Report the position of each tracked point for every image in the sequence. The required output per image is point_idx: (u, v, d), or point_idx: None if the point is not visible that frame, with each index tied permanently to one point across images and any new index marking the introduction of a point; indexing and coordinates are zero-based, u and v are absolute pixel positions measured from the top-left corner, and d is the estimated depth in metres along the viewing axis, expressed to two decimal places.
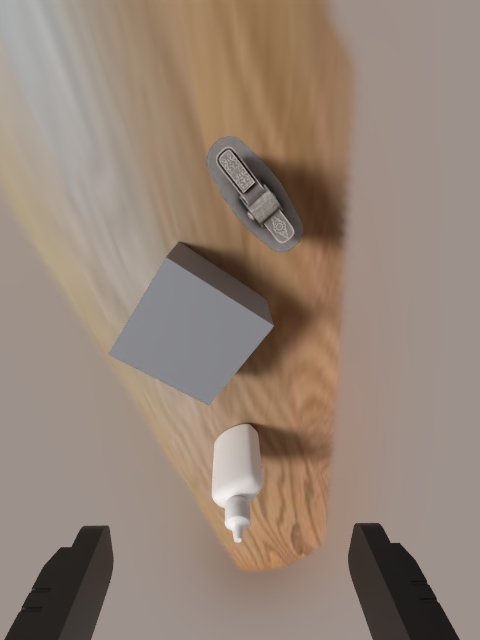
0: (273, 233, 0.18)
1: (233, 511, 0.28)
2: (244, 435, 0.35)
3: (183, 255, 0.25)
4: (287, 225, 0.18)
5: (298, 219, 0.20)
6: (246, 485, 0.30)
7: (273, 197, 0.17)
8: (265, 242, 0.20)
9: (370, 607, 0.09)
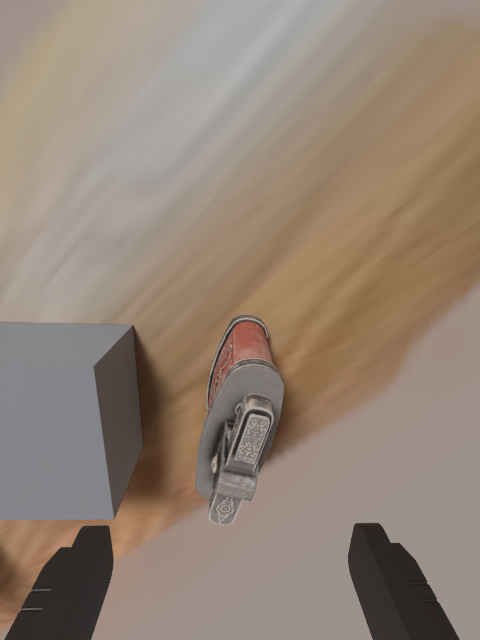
0: (212, 507, 0.13)
1: None
2: None
3: (118, 357, 0.18)
4: (232, 514, 0.13)
5: None
6: None
7: (252, 492, 0.12)
8: (197, 473, 0.15)
9: (370, 607, 0.09)
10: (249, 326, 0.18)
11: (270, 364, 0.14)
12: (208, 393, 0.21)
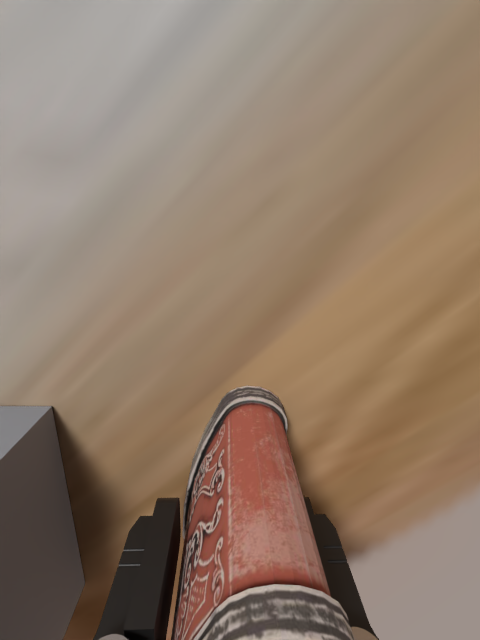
0: None
1: None
2: None
3: (2, 491, 0.09)
4: None
5: None
6: None
7: None
8: None
9: None
10: (257, 421, 0.10)
11: (324, 606, 0.05)
12: (185, 515, 0.12)
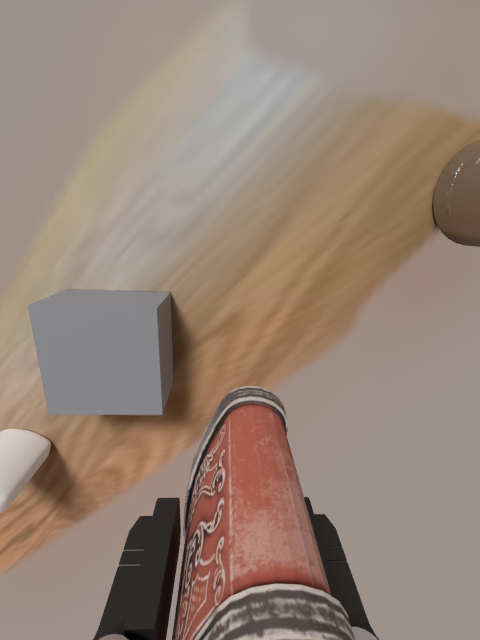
0: None
1: None
2: (37, 450, 0.32)
3: (164, 309, 0.27)
4: None
5: None
6: None
7: None
8: None
9: None
10: (257, 421, 0.10)
11: (325, 605, 0.05)
12: (186, 515, 0.12)
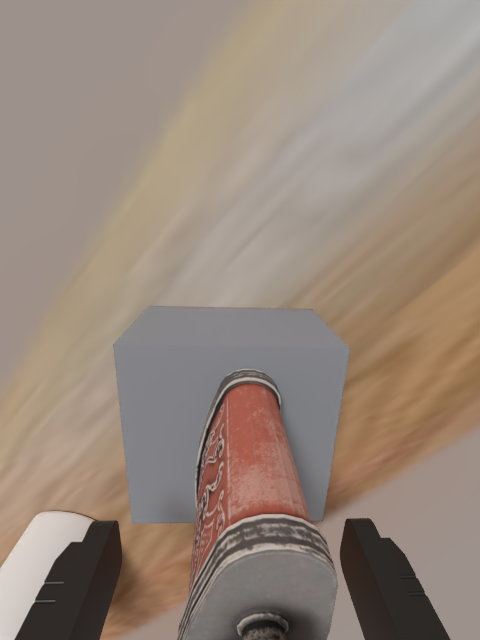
0: None
1: None
2: None
3: None
4: None
5: None
6: None
7: None
8: None
9: (360, 601, 0.09)
10: (251, 397, 0.11)
11: (303, 528, 0.06)
12: (197, 489, 0.14)
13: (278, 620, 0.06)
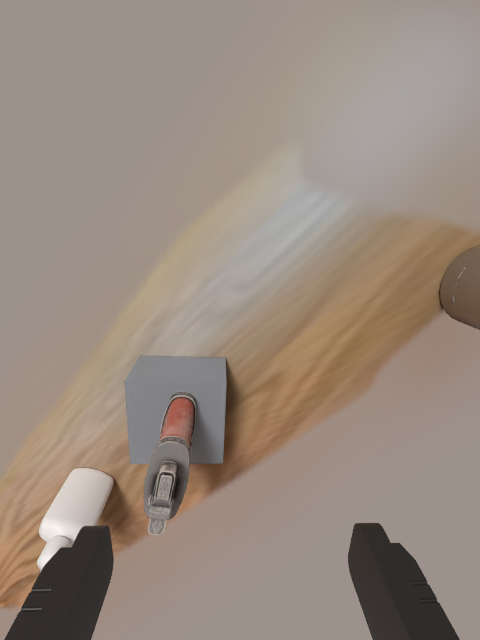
0: (149, 525, 0.23)
1: None
2: (105, 488, 0.38)
3: None
4: (161, 528, 0.23)
5: (176, 510, 0.25)
6: None
7: (168, 516, 0.22)
8: (145, 504, 0.25)
9: (370, 607, 0.09)
10: (180, 403, 0.28)
11: (180, 439, 0.24)
12: None
13: None
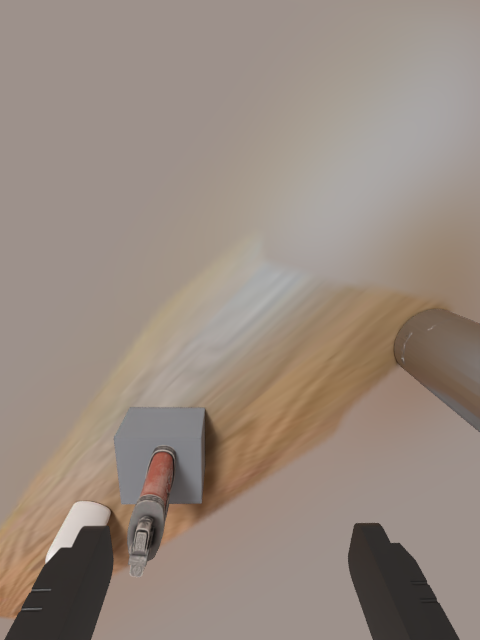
0: (130, 569, 0.28)
1: None
2: (103, 519, 0.43)
3: None
4: (140, 572, 0.28)
5: (154, 553, 0.30)
6: None
7: (145, 563, 0.27)
8: (129, 549, 0.30)
9: (370, 607, 0.09)
10: (160, 458, 0.33)
11: (156, 497, 0.29)
12: None
13: (150, 518, 0.29)
